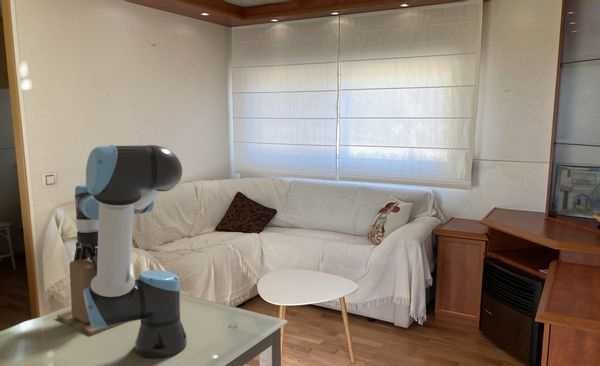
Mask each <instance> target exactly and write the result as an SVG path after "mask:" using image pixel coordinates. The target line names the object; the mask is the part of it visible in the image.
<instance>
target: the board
mask: <svg viewBox="0 0 600 366" xmlns="http://www.w3.org/2000/svg"><path fill="white" fill-rule="evenodd" d="M56 319H58V320H60V321H62V322H64V323H66V324H68V325H70V326H71V327H74V328H76V329H77V330H79V331H82V332H83V333H85V334H87V335H89V336H93V335H96V334H99V333H102V332H105V331H106V330H109V329H112V328H115V327H117V326H120V325H121V324H118V325H114V326H110V327H105V328H99V329H95V328H93V327H92V326H91V324H90V323H84V322H82V321H80V320H78V319H76V318H74V317H73V316H72V309H71V310H69V311H66V312H63V313H59V314H56Z"/></svg>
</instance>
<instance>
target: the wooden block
mask: <svg viewBox="0 0 600 366" xmlns="http://www.w3.org/2000/svg"><path fill="white" fill-rule="evenodd" d="M68 266H69V281H70V284H69V285H70V302H71V306H70V307H71V310H72V316H73V317H74V318H76V319H78V320H80V321H82V322H84V323H90V321H89V317H88V314H87V309H86V305H85V300H84V290H85V289H87V288H91V281H92V279H93V278H94V277H95V276H97V272H96V269H95V264H94V263H93V262H92V260H90V258H89V257H88V258H85V259H80V260H76V261H74V260H72V261H70V262H69V265H68Z"/></svg>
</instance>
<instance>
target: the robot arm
mask: <svg viewBox="0 0 600 366" xmlns="http://www.w3.org/2000/svg"><path fill="white" fill-rule="evenodd" d="M182 165H183V164H182V162H181V161H180V159H179V158H178V156H177V155H176V154H175V153H174V152H173V151H171V150H170V149H168V148H166V147H163V146H160V145H156V144H155V145H154V144H153V145H152V144H151V145H150V144H148V145H114V144H113V145H112V144H111V145H103V146H96V147H94V148H92V150H91V151H90V153H89V155H88V158H87V163H86V167H85V184H79V185H76V186H75V189H74V200H75V215H76V216H75V223H76V225H75V226H76V242H75V251H74V257H73V261H76V260H80V259H85V258H90V260H92V262H93V263H94V264H95V269H96V272H97V276H95V277H94V278H93V279H92V281H91V288H87V289H85V290H84V300H85V305H86V309H87V314H88V317H89V321H90V324H91V326H92V327H93V328H95V329H99V328H105V327H110V326H114V325H118V324H120V325H123V324H126V323H131V322H134V321H139V320H140V325H139V330H138V332H137V337H136V340H135V343H134V345H135V353H136V354H138V355H139V356H141V357H143V358H149V359H156V358H157V359H159V358H165V357H166V358H167V357H171V356H173V355H176V354H178V353H180V352H182V351H183V350H184V349H185V348H186V346H187V343H188V342H187V341H188V340H187V339H188V337H187V334H186V331H185V328H184V325H183V324H182V321H181V320H182V319H181V295H180V293H181V287H180V279H179V276H178V275H177V274H175V273H173V272H171V271H167V270H159V269H157V270H156V269H154V270H153V269H152V270H146V271H143V272H142V271H141V272H140V273H139V274H138V275H139V276H138V277H137V279H135V278H134V276H133V275H132V274H131V268H132V267H131V264H132V251H133V250H132V248H133V233H134V232H133V231H134V221H135V220H134V217H135V215H139V214H142V215H144V214H146V213H151V212H152V211H153V210H154V205H155V200H156V199H157V198H158V197H159V196H161V194H162V193H164V192H169V191H170V190H173V189H174V188H175V187H176V186H177V185H178V184H179V183H180V182H181V180H182V179H181V178H182V176H183V166H182ZM118 326H119V325H118Z"/></svg>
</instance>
